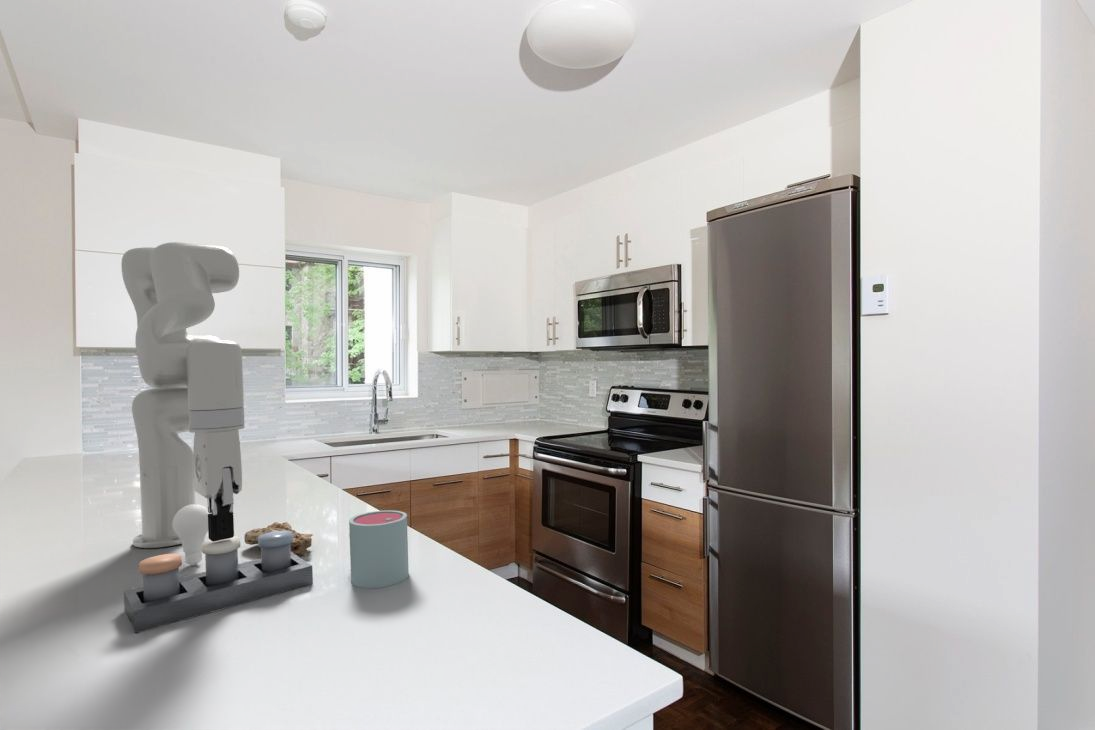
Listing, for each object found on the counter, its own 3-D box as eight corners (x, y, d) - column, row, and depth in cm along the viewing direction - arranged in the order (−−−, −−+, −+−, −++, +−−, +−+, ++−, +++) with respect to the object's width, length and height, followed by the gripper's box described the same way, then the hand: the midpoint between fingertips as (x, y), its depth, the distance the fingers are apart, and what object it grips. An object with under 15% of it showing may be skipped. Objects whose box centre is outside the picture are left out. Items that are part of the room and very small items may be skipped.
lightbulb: (195, 572, 103) (192, 509, 103) (165, 570, 104) (163, 508, 104) (221, 560, 109) (219, 500, 109) (192, 558, 110) (190, 500, 110)
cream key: (199, 580, 92) (198, 541, 92) (236, 572, 96) (234, 534, 95) (207, 590, 88) (206, 548, 88) (245, 580, 92) (244, 540, 92)
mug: (419, 575, 99) (417, 516, 99) (369, 592, 92) (367, 529, 92) (375, 558, 108) (374, 503, 108) (327, 572, 101) (325, 514, 101)
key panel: (124, 610, 88) (123, 590, 88) (291, 568, 104) (290, 551, 104) (134, 633, 80) (134, 611, 80) (312, 583, 96) (312, 565, 96)
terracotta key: (138, 601, 87) (136, 559, 87) (179, 591, 90) (177, 551, 90) (143, 612, 83) (142, 568, 83) (186, 601, 86) (185, 559, 86)
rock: (339, 531, 116) (299, 534, 108) (335, 557, 116) (294, 563, 107) (280, 518, 124) (238, 520, 115) (275, 543, 123) (233, 547, 114)
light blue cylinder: (254, 572, 97) (253, 535, 97) (287, 564, 101) (286, 528, 101) (264, 581, 94) (263, 542, 93) (298, 572, 97) (297, 535, 97)
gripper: (179, 420, 94) (183, 534, 95) (201, 426, 83) (205, 555, 84) (230, 416, 100) (234, 524, 100) (257, 421, 88) (262, 543, 89)
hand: (221, 538), depth 92 cm, fingers closed
